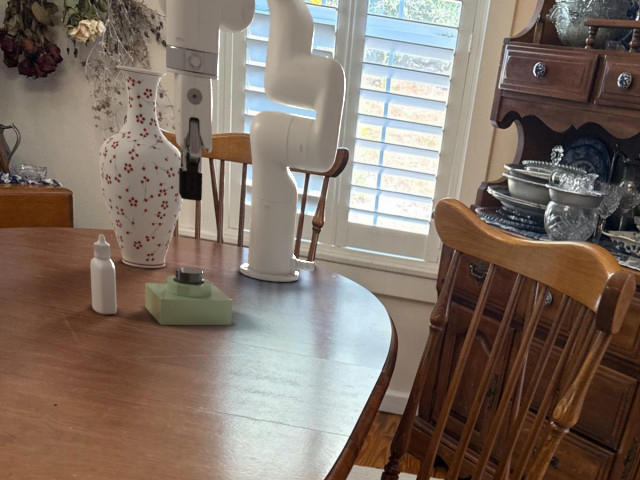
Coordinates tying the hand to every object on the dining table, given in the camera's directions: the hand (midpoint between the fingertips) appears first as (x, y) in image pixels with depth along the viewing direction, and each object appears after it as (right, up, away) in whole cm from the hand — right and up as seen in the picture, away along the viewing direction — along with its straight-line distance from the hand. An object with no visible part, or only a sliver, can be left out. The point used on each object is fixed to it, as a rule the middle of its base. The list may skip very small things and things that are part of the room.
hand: (190, 196), depth 123 cm
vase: (-20, +2, +37) cm, 42 cm away
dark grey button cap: (-2, -12, +7) cm, 14 cm away
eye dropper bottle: (-16, -17, +5) cm, 24 cm away
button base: (-3, -16, +9) cm, 19 cm away
